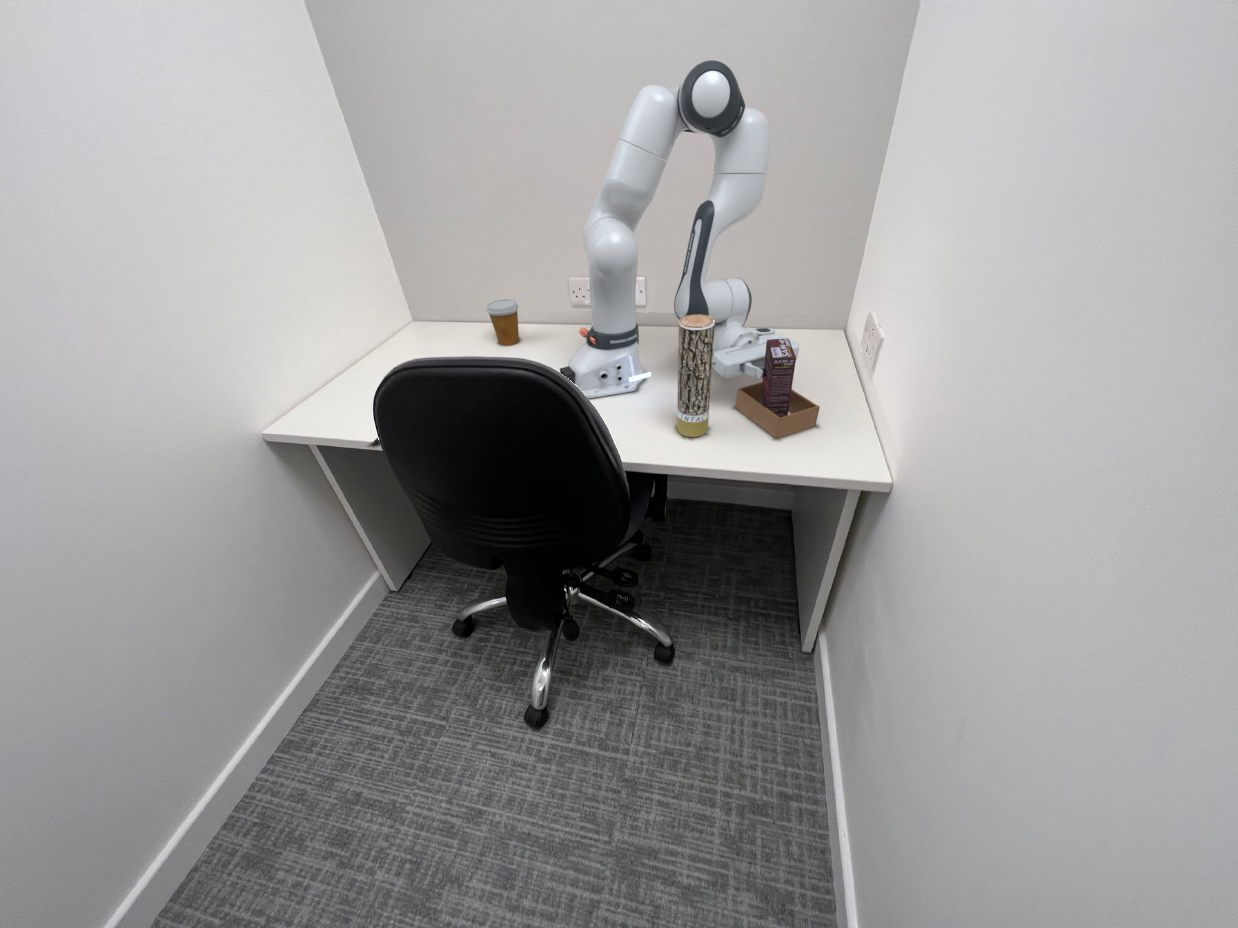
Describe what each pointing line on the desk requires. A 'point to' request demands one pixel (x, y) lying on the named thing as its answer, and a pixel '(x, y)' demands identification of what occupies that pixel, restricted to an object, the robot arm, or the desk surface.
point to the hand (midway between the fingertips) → (777, 370)
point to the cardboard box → (770, 422)
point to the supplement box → (778, 376)
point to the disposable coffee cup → (504, 320)
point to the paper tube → (694, 374)
